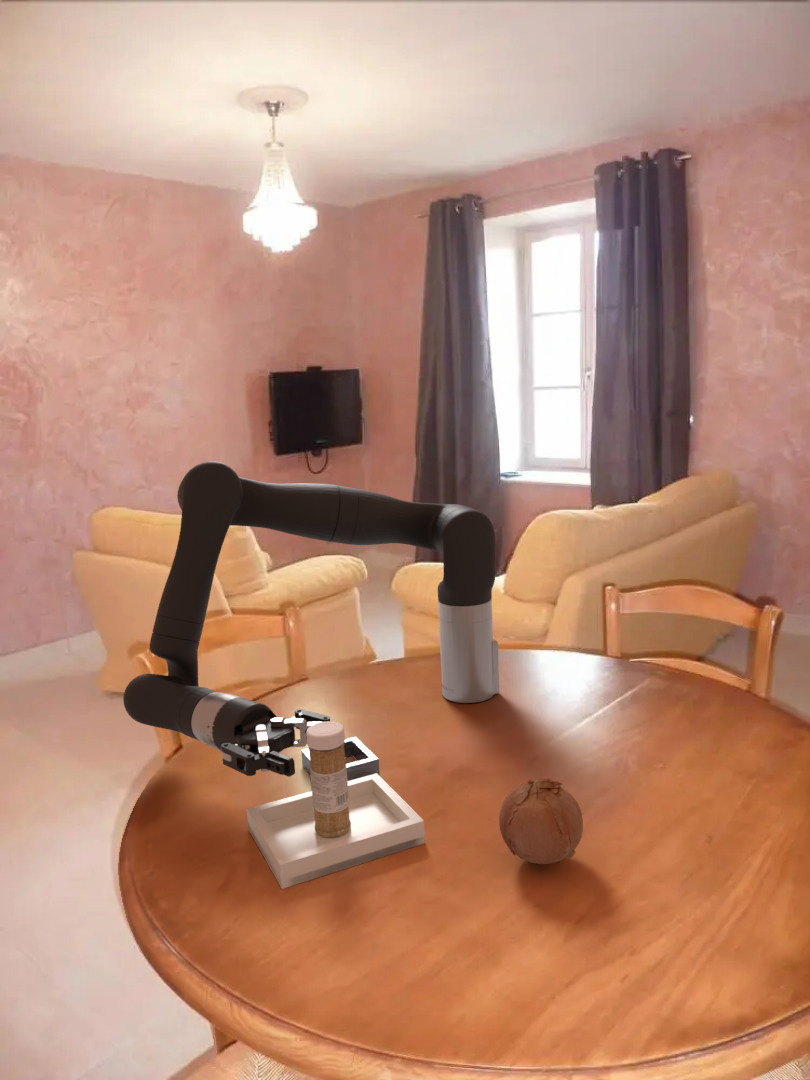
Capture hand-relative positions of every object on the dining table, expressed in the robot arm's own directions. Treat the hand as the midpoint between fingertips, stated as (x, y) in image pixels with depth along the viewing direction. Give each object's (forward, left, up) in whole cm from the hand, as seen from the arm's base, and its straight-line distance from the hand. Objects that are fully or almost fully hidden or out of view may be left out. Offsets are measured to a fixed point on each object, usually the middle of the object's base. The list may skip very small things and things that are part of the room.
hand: (318, 754), depth 102 cm
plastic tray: (-1, +2, -10) cm, 11 cm away
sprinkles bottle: (-1, +2, -10) cm, 10 cm away
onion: (-20, +19, -11) cm, 29 cm away
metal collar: (-8, -14, -10) cm, 19 cm away
